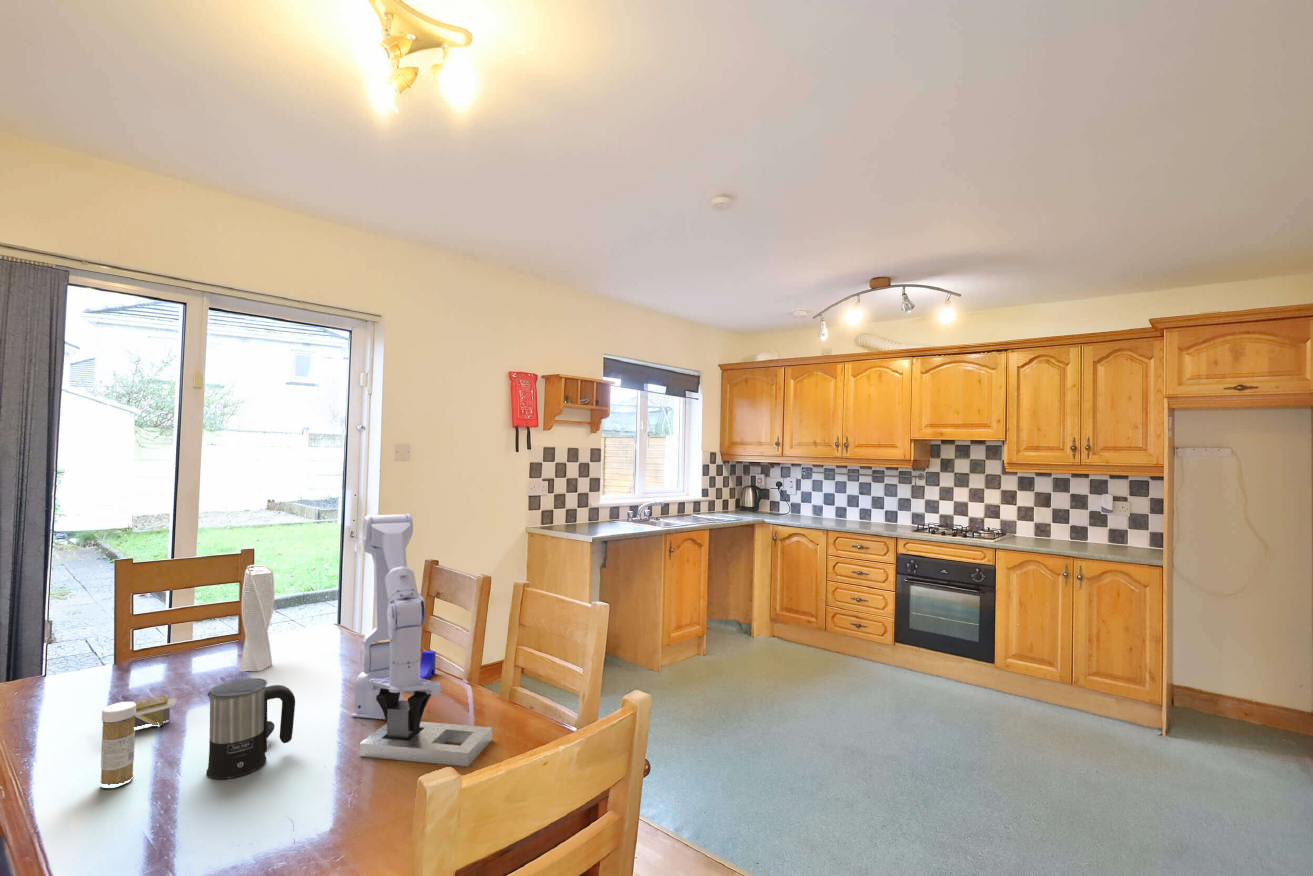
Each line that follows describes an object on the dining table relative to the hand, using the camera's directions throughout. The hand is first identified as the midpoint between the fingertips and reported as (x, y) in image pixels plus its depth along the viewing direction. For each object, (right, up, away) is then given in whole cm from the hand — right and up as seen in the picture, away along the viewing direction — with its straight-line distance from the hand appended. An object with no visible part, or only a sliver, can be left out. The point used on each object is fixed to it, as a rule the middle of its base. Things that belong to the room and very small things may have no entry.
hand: (403, 728), depth 125 cm
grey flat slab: (+5, -4, -1) cm, 6 cm away
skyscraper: (-56, -4, +42) cm, 70 cm away
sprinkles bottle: (-44, -3, -16) cm, 46 cm away
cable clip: (-11, -4, +34) cm, 36 cm away
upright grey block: (0, -2, 0) cm, 2 cm away
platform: (-55, -3, +5) cm, 56 cm away
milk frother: (-28, -3, -6) cm, 29 cm away
